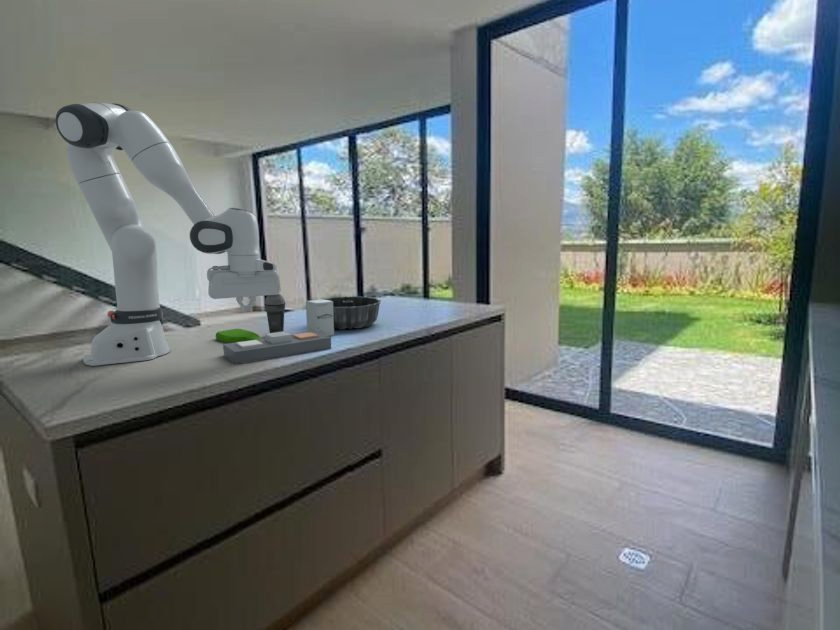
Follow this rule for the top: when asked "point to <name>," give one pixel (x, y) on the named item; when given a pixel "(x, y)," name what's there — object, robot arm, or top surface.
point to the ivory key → (249, 344)
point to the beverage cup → (275, 312)
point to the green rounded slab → (236, 336)
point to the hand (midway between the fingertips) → (246, 311)
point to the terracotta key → (305, 336)
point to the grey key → (278, 337)
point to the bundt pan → (354, 311)
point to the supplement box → (320, 317)
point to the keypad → (275, 348)
